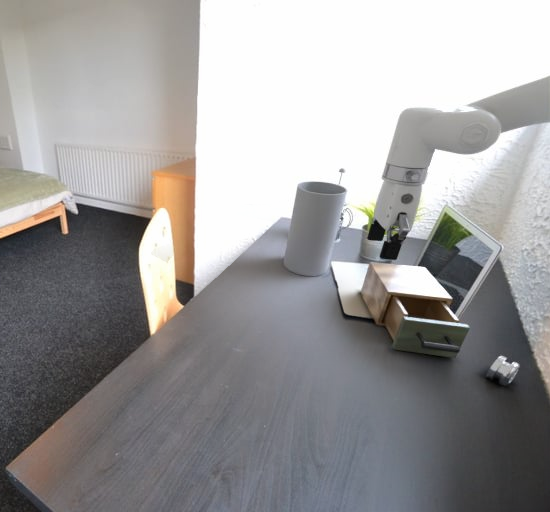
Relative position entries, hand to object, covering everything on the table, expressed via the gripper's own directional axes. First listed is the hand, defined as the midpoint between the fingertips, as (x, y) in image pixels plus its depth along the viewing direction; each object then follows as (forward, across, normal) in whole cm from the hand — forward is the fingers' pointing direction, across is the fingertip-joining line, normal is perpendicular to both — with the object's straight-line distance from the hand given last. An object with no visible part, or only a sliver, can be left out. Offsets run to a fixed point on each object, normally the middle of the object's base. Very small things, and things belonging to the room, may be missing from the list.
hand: (380, 249), depth 82 cm
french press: (+18, +46, 0) cm, 50 cm away
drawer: (+17, -9, -9) cm, 21 cm away
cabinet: (+18, +3, -9) cm, 20 cm away
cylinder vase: (+18, +22, +10) cm, 30 cm away
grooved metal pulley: (+18, -17, -20) cm, 32 cm away
